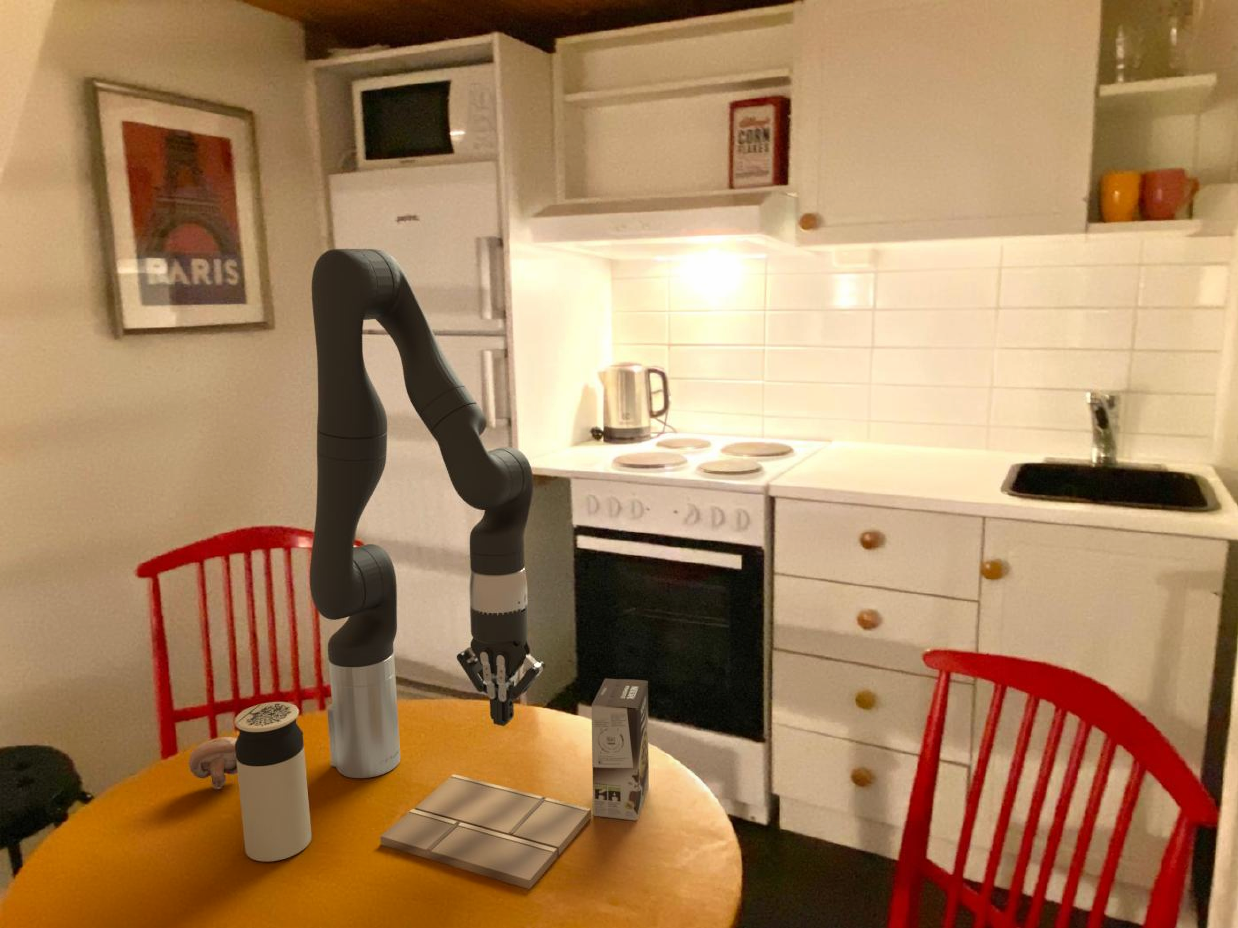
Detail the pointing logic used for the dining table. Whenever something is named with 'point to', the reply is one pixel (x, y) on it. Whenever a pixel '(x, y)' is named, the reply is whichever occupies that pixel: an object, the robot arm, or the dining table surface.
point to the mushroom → (214, 760)
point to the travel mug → (272, 781)
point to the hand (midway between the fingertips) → (502, 722)
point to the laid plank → (470, 848)
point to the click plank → (507, 811)
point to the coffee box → (620, 748)
